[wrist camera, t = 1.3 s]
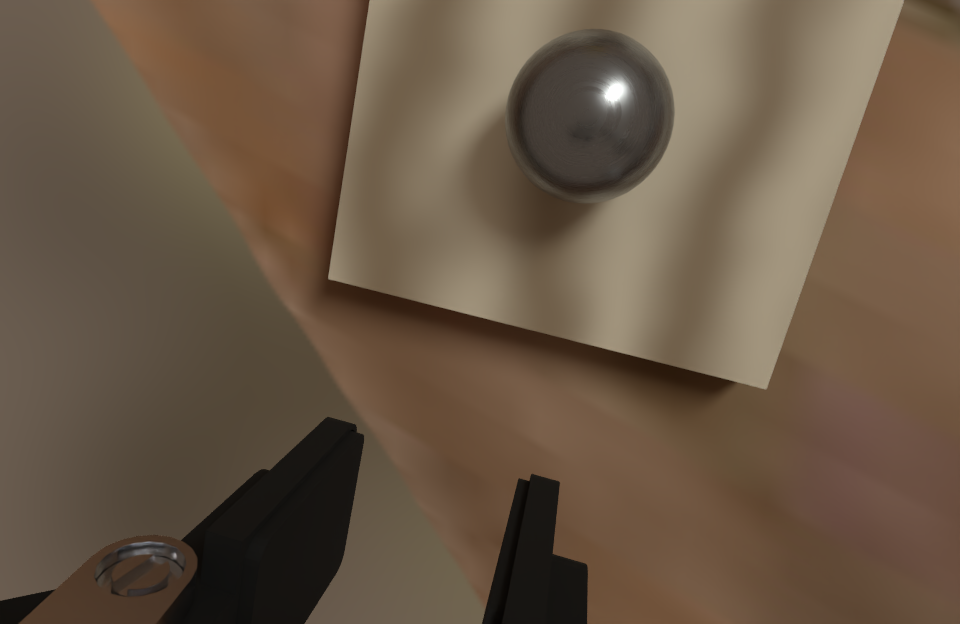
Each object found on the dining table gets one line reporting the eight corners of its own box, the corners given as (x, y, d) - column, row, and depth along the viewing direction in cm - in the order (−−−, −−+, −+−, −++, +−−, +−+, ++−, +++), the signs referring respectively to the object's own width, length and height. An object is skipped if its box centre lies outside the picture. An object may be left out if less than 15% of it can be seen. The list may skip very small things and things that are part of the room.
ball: (683, 62, 24) (711, 29, 18) (641, 214, 26) (655, 227, 20) (533, 33, 25) (515, -8, 19) (501, 182, 26) (476, 186, 21)
